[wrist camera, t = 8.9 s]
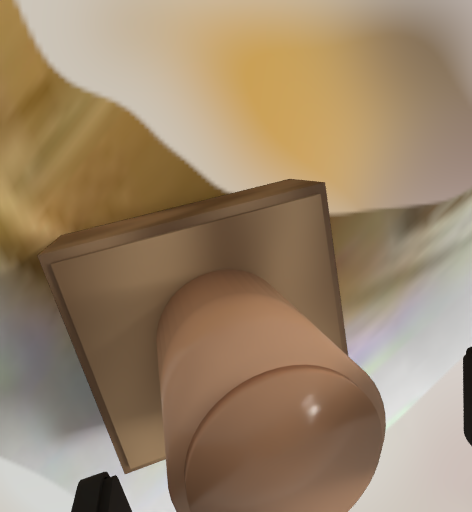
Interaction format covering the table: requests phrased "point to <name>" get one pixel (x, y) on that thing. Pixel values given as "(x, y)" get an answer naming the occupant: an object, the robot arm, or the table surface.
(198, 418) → the canister
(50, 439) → the table surface
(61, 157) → the table surface
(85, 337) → the walnut block
